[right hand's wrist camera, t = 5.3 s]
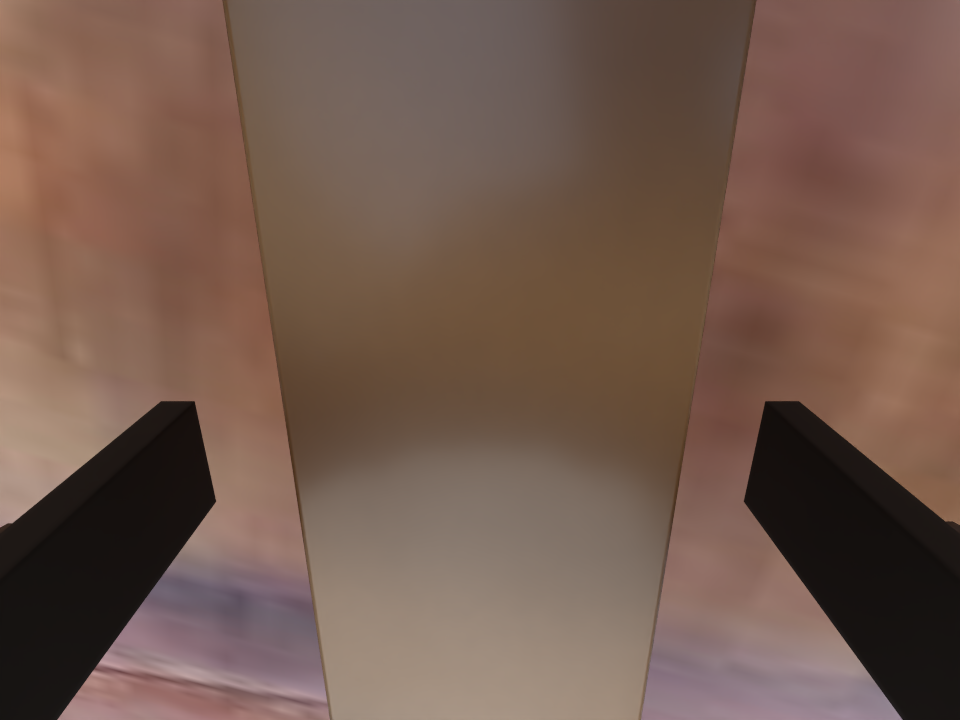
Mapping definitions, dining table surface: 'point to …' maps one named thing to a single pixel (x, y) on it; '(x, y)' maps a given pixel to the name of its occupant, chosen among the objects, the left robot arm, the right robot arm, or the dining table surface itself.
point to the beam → (487, 328)
